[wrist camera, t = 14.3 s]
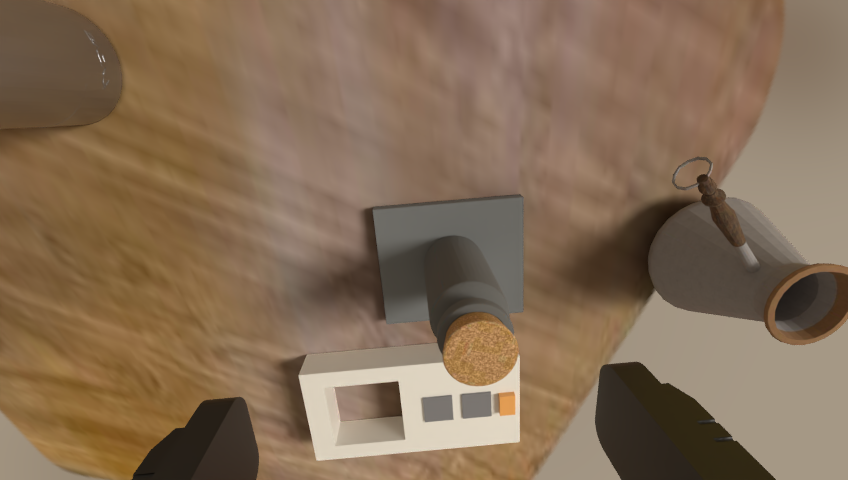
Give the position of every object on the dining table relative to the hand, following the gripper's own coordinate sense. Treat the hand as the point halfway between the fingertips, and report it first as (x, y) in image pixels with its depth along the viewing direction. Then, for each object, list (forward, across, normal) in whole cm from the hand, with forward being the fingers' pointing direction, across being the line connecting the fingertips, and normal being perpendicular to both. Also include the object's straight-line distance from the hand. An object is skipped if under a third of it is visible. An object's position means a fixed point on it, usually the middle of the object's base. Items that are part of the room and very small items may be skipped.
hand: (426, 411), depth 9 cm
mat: (+29, -4, +8) cm, 31 cm away
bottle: (+28, -4, +8) cm, 30 cm away
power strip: (+29, +1, +23) cm, 38 cm away
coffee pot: (+29, -25, +5) cm, 39 cm away
